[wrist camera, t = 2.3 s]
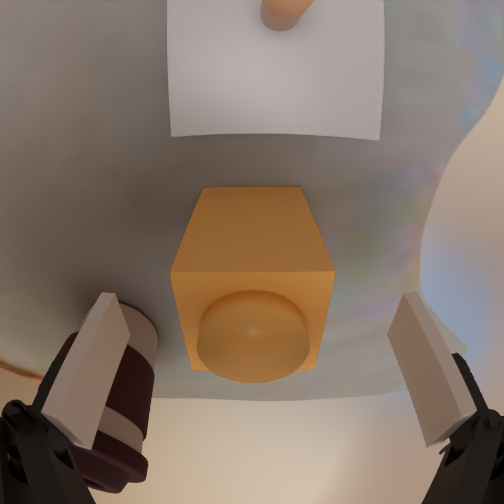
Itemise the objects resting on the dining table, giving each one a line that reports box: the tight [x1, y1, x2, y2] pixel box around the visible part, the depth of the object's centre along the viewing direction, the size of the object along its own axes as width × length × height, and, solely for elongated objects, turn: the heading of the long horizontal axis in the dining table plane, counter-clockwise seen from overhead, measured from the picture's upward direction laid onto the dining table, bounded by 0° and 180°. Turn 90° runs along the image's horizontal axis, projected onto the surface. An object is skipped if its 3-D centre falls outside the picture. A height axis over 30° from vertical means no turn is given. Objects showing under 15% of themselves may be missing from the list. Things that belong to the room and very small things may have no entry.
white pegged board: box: [167, 0, 384, 141], centre depth 10 cm, size 12×14×7 cm
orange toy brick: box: [170, 186, 335, 383], centre depth 15 cm, size 6×6×10 cm
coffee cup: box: [26, 303, 158, 493], centre depth 19 cm, size 10×10×15 cm
